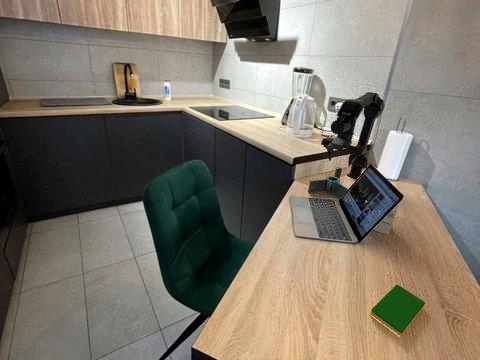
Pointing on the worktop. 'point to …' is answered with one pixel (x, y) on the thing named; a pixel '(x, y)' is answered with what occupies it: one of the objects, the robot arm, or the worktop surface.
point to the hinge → (328, 186)
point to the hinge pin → (338, 172)
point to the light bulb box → (386, 222)
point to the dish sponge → (397, 309)
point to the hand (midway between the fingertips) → (339, 163)
